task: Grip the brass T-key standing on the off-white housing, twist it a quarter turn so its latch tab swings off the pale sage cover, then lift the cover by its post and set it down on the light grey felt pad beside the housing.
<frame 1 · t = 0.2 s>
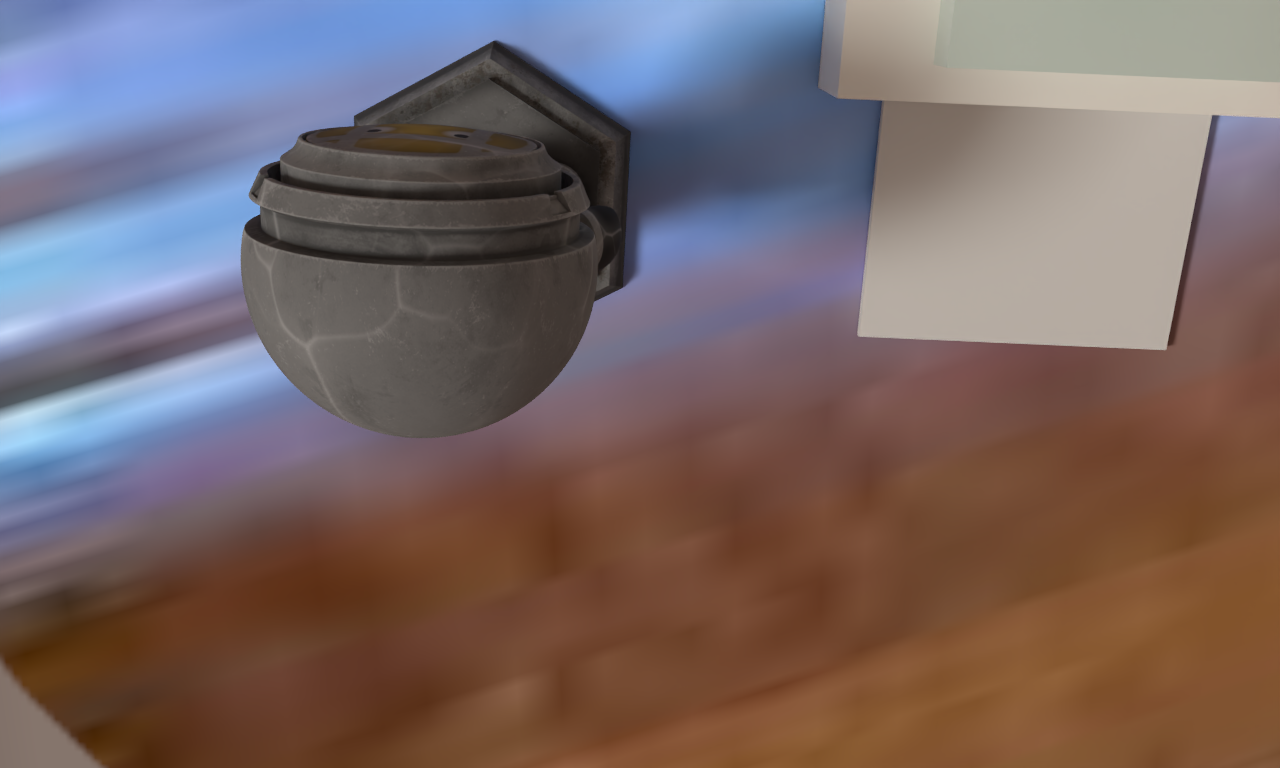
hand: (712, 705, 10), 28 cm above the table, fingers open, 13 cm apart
figurine: (492, 202, 37), on the table
pad: (1026, 227, 36), on the table
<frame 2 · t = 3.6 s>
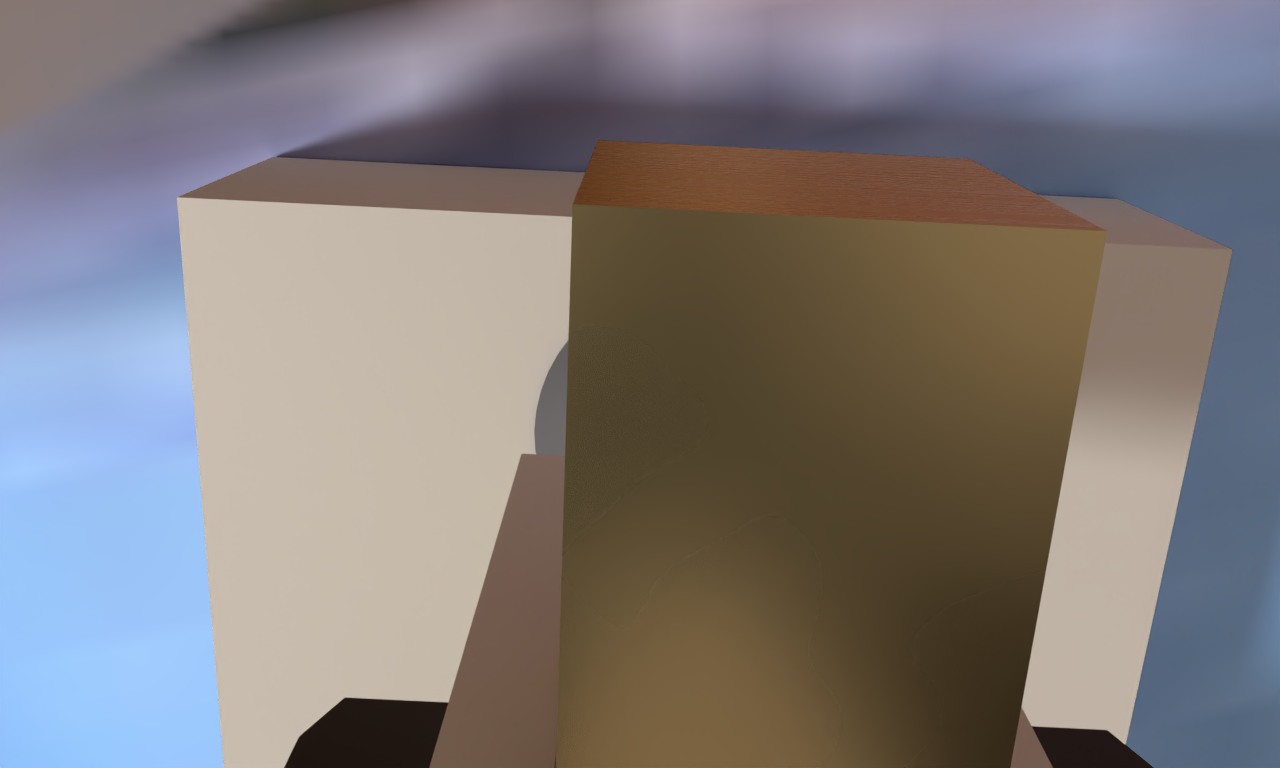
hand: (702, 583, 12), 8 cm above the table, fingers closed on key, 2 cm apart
housing: (664, 674, 22), on the table
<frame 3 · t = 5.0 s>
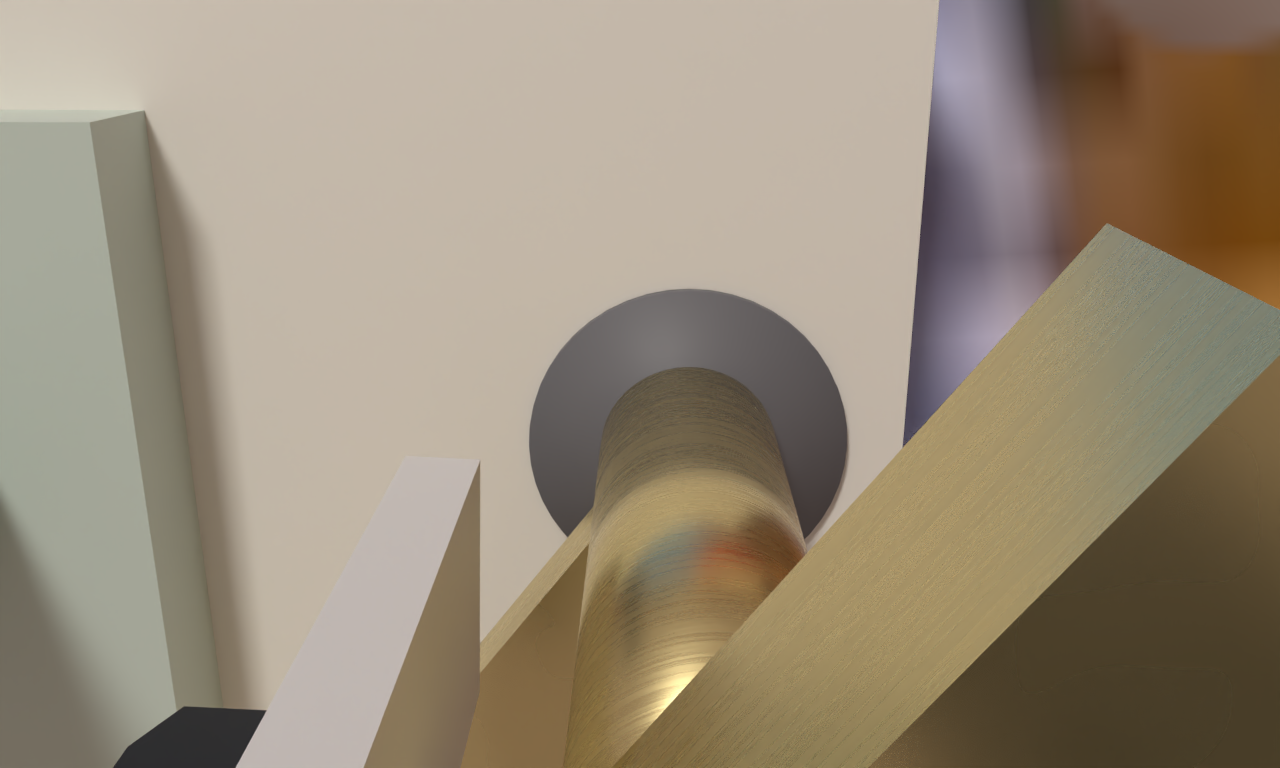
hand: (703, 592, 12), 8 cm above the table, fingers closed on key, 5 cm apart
housing: (305, 354, 20), on the table
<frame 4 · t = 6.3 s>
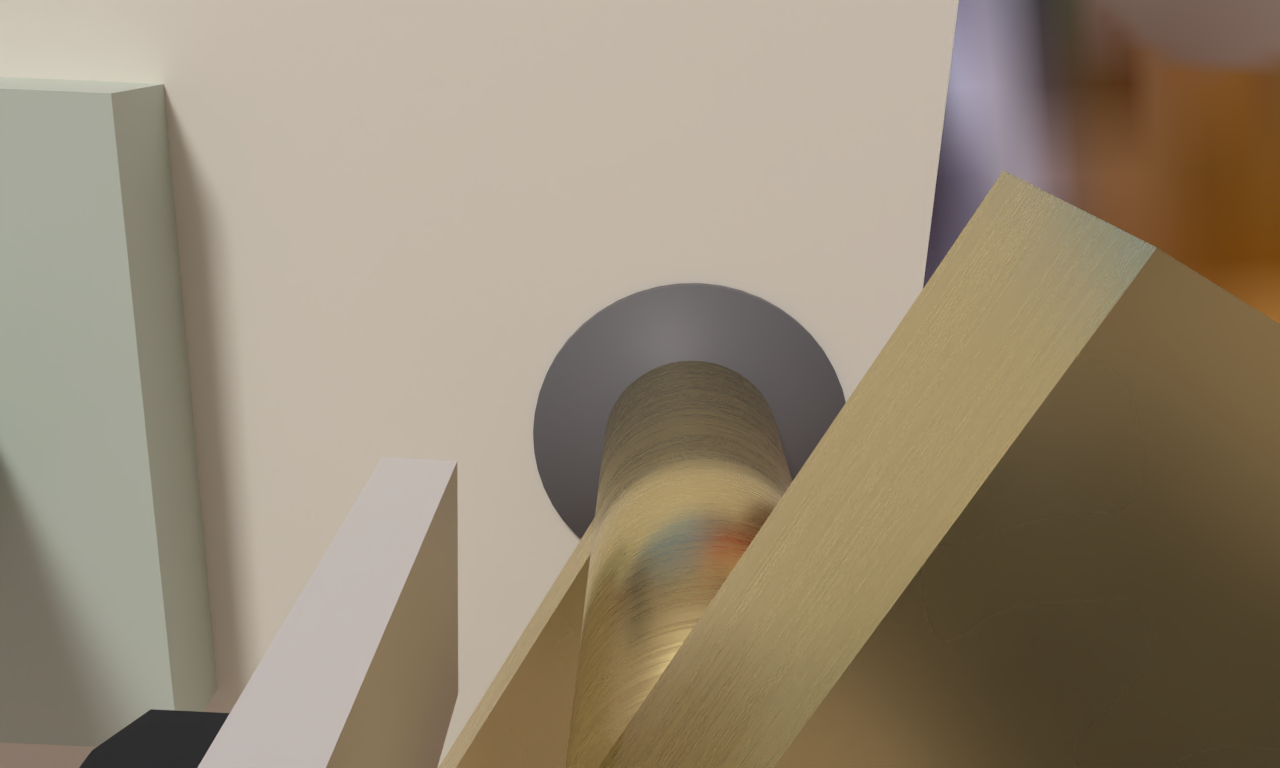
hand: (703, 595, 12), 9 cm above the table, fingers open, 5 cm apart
housing: (309, 335, 20), on the table
key: (616, 767, 12), point 9 cm above the table, hinge at 62.4°
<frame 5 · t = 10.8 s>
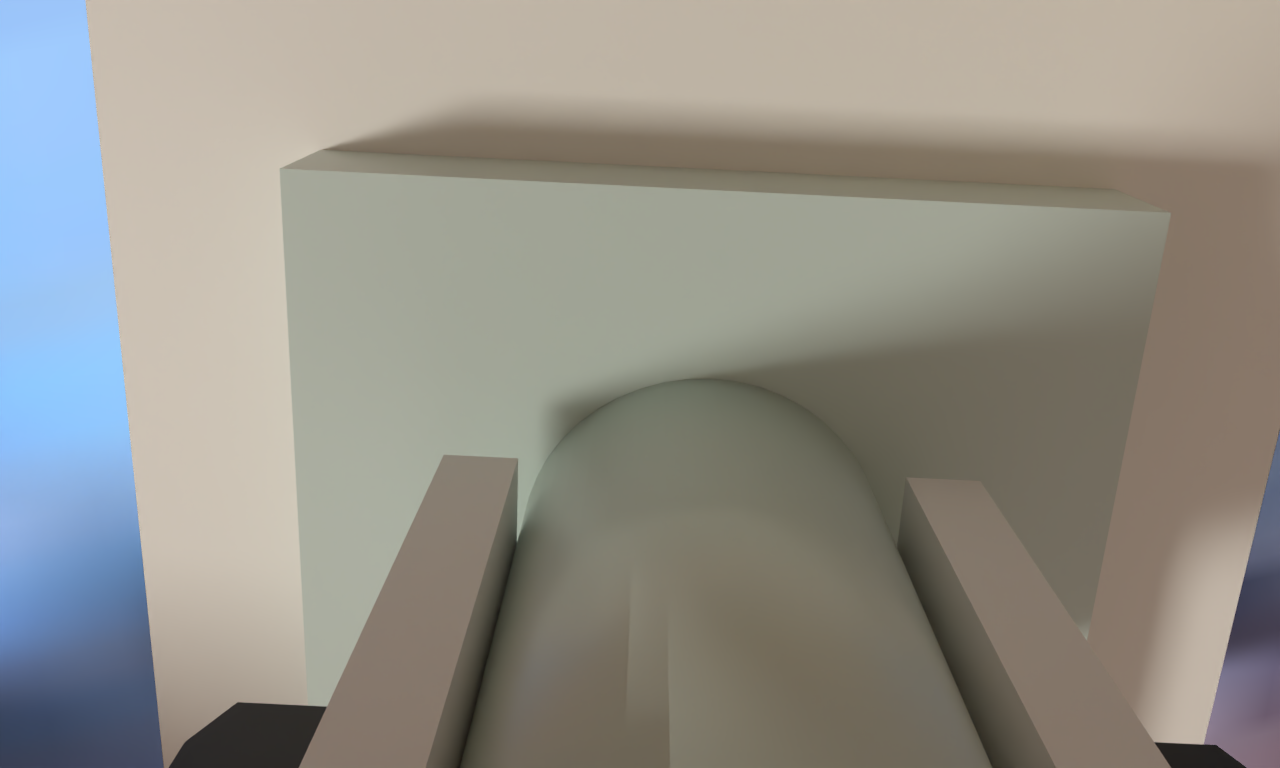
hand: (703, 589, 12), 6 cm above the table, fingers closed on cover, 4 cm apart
cover: (695, 493, 14), point 4 cm above the table, touching gripper, housing
housing: (706, 95, 17), on the table
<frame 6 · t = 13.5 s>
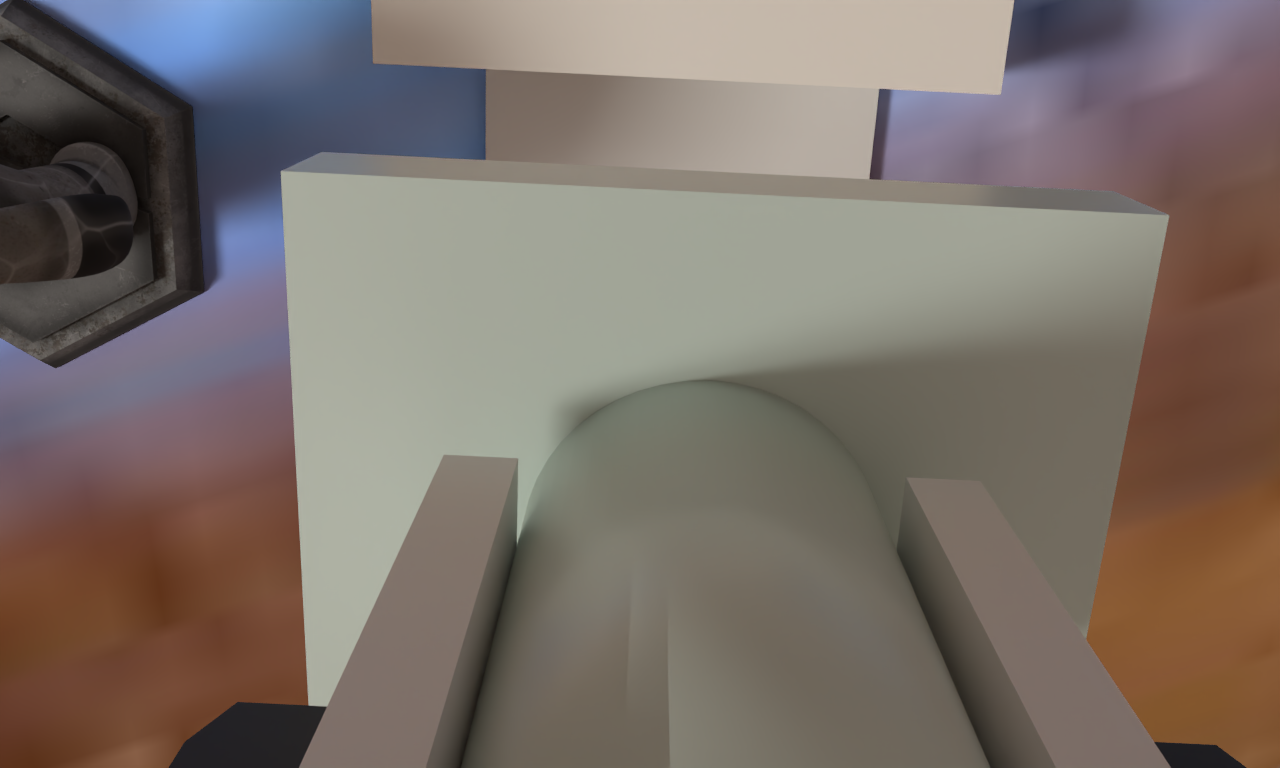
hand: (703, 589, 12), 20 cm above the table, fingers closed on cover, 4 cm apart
cover: (695, 494, 14), point 17 cm above the table, touching gripper
figurine: (41, 190, 31), on the table
pad: (674, 222, 31), on the table
when the fingers open (4 cm above the table, at t = 16.4 s): cover stays where it is, resting on pad.
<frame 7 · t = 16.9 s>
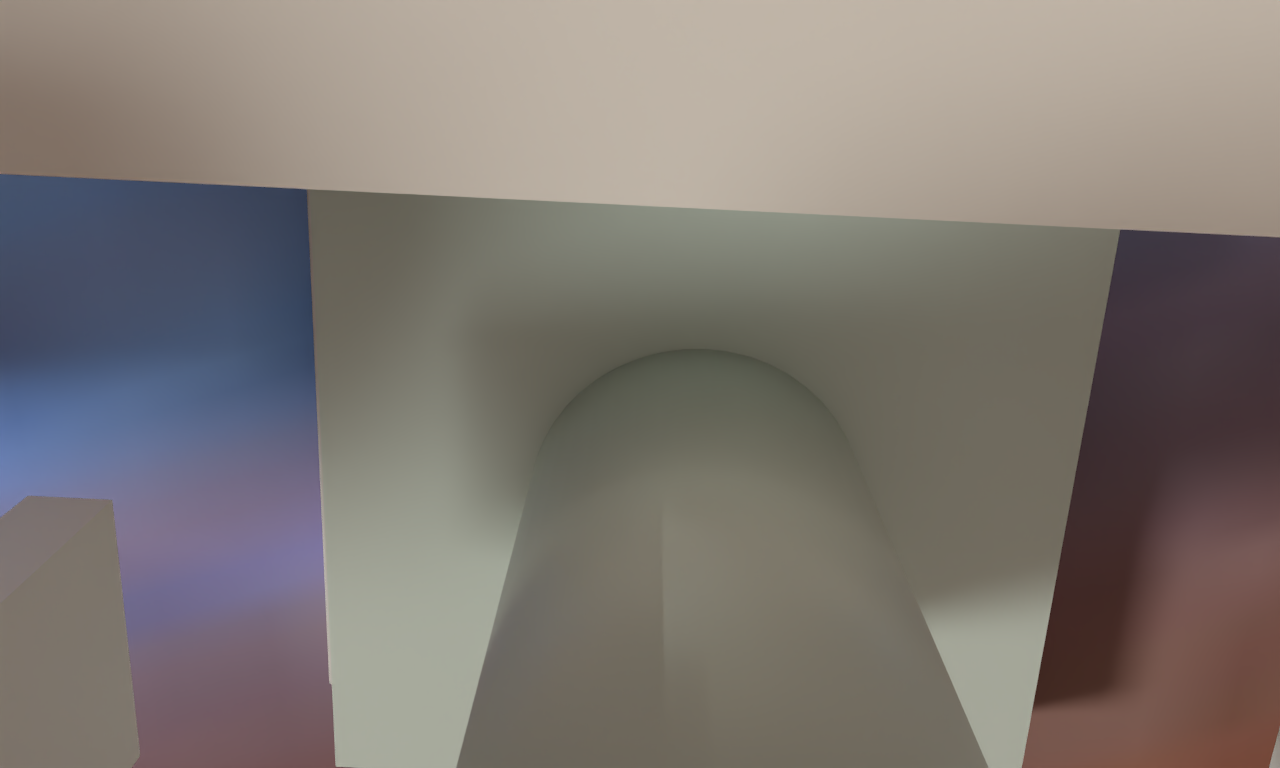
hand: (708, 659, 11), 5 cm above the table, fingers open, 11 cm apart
cover: (691, 459, 15), resting on pad
pad: (692, 450, 16), on the table
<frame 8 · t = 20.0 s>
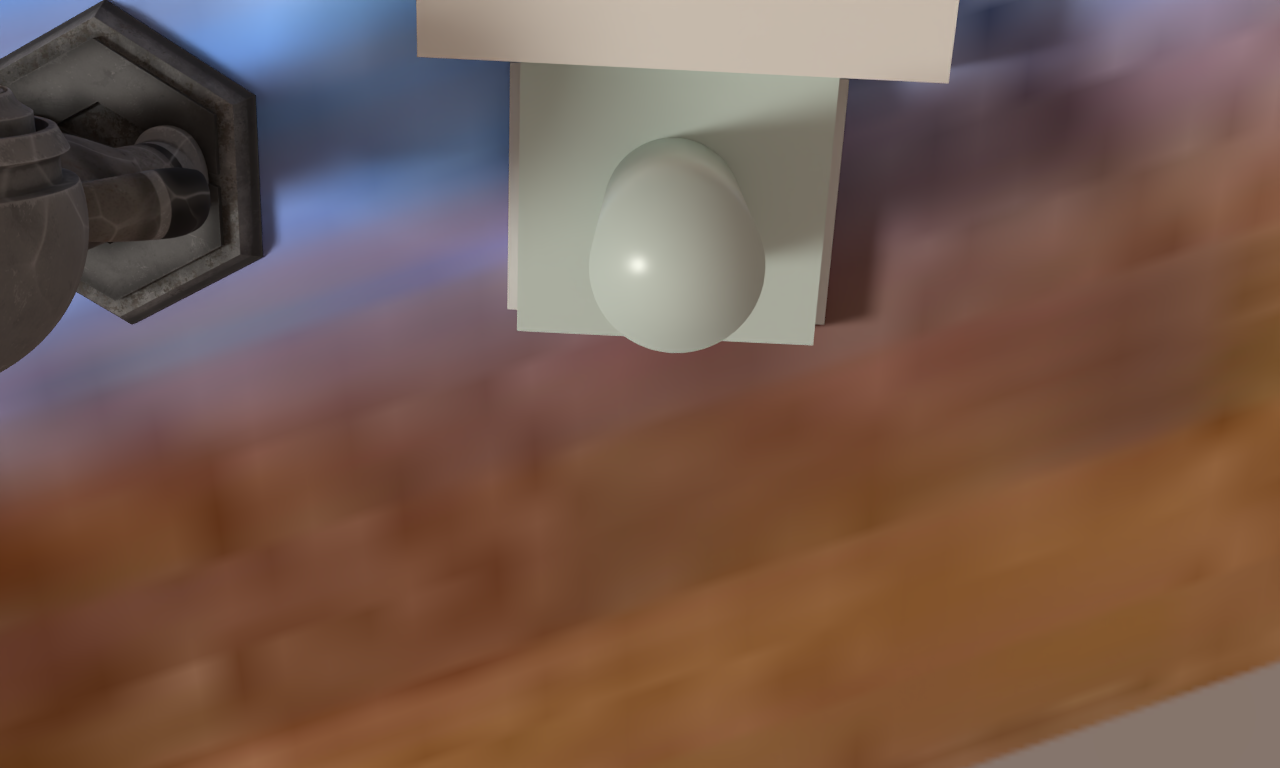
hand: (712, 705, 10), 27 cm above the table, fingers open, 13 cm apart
cover: (671, 198, 35), resting on pad
figurine: (122, 168, 35), on the table
pad: (672, 196, 35), on the table
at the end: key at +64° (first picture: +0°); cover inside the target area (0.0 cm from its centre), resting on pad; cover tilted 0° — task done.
